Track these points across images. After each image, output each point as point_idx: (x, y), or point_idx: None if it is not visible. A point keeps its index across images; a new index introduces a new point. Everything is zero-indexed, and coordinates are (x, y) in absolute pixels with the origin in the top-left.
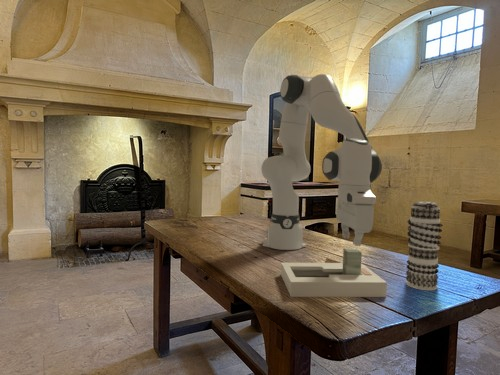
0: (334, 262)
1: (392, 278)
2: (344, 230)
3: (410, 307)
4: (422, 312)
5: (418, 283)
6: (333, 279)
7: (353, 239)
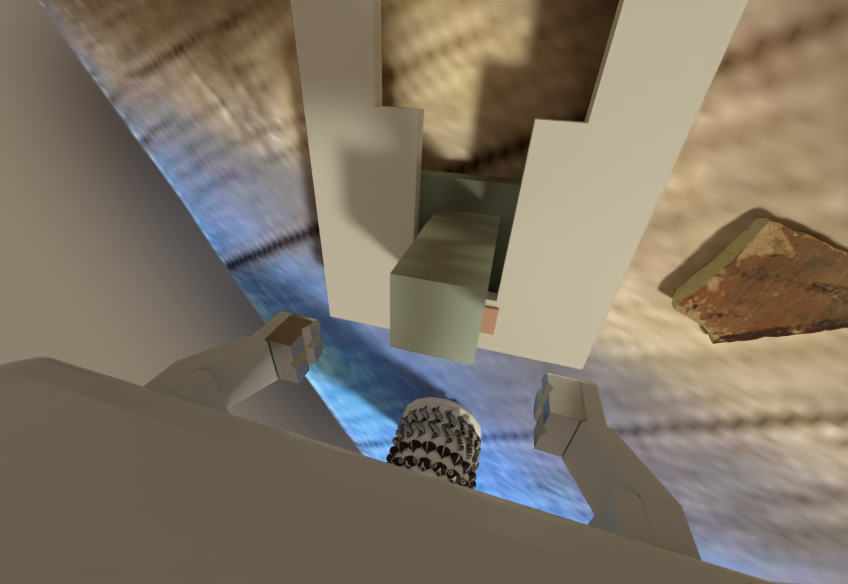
0: (795, 306)
1: (511, 402)
2: (585, 445)
3: (290, 305)
4: (267, 311)
5: (408, 413)
6: (341, 106)
7: (286, 339)
